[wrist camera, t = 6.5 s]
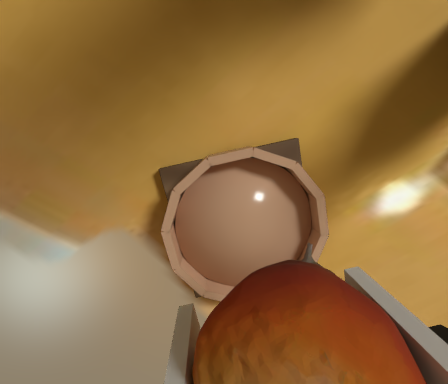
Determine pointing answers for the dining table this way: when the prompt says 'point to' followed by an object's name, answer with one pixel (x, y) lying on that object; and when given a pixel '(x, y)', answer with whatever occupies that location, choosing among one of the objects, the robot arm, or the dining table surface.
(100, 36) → the dining table surface
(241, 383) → the fruit
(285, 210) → the bowl
